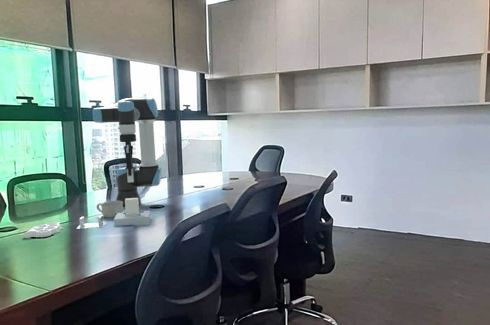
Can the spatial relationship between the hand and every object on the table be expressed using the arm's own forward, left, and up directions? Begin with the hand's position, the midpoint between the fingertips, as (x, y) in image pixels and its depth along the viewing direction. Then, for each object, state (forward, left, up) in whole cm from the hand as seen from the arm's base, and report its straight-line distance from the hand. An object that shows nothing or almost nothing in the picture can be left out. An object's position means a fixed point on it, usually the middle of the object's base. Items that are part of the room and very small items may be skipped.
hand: (130, 182), depth 194 cm
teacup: (-17, -13, -21) cm, 30 cm away
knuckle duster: (+8, -38, -21) cm, 44 cm away
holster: (+2, -19, -20) cm, 28 cm away
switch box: (0, 0, -20) cm, 20 cm away
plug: (0, 0, -20) cm, 20 cm away
